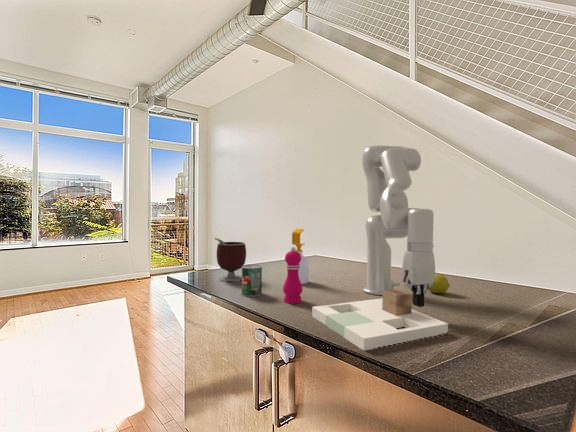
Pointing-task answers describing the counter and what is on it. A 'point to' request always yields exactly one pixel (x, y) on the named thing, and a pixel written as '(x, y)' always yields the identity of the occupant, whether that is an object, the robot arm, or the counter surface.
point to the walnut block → (397, 302)
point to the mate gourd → (231, 258)
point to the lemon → (439, 284)
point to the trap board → (376, 323)
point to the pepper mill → (292, 278)
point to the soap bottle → (304, 261)
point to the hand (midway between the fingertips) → (418, 305)
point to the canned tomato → (251, 280)
